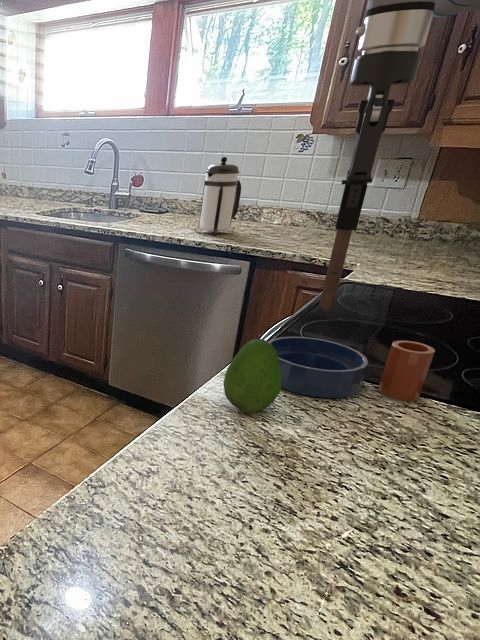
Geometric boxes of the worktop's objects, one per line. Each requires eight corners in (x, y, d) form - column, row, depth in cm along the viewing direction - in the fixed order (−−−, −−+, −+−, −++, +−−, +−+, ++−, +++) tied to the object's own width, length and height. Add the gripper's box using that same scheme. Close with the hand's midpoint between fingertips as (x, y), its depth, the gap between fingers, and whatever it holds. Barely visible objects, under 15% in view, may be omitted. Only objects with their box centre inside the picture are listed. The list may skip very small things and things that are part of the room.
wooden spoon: (319, 303, 88) (355, 149, 78) (332, 305, 87) (371, 149, 77) (318, 309, 85) (356, 150, 75) (332, 311, 84) (373, 150, 75)
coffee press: (235, 237, 212) (248, 157, 200) (194, 235, 217) (204, 157, 205) (234, 229, 227) (246, 155, 215) (195, 228, 232) (205, 155, 220)
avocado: (254, 427, 78) (269, 352, 73) (209, 406, 84) (221, 336, 79) (285, 412, 82) (301, 341, 77) (240, 393, 88) (253, 326, 83)
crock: (396, 388, 88) (412, 339, 85) (426, 404, 83) (444, 352, 80) (368, 391, 88) (383, 341, 84) (396, 407, 83) (413, 354, 79)
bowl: (315, 361, 99) (322, 334, 97) (381, 397, 86) (391, 367, 83) (242, 367, 97) (247, 339, 95) (297, 406, 83) (305, 375, 81)
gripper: (354, 60, 79) (319, 219, 88) (357, 48, 67) (315, 234, 77) (416, 56, 75) (372, 222, 85) (430, 43, 64) (377, 238, 73)
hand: (345, 227), depth 81 cm, fingers closed on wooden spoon, 2 cm apart
